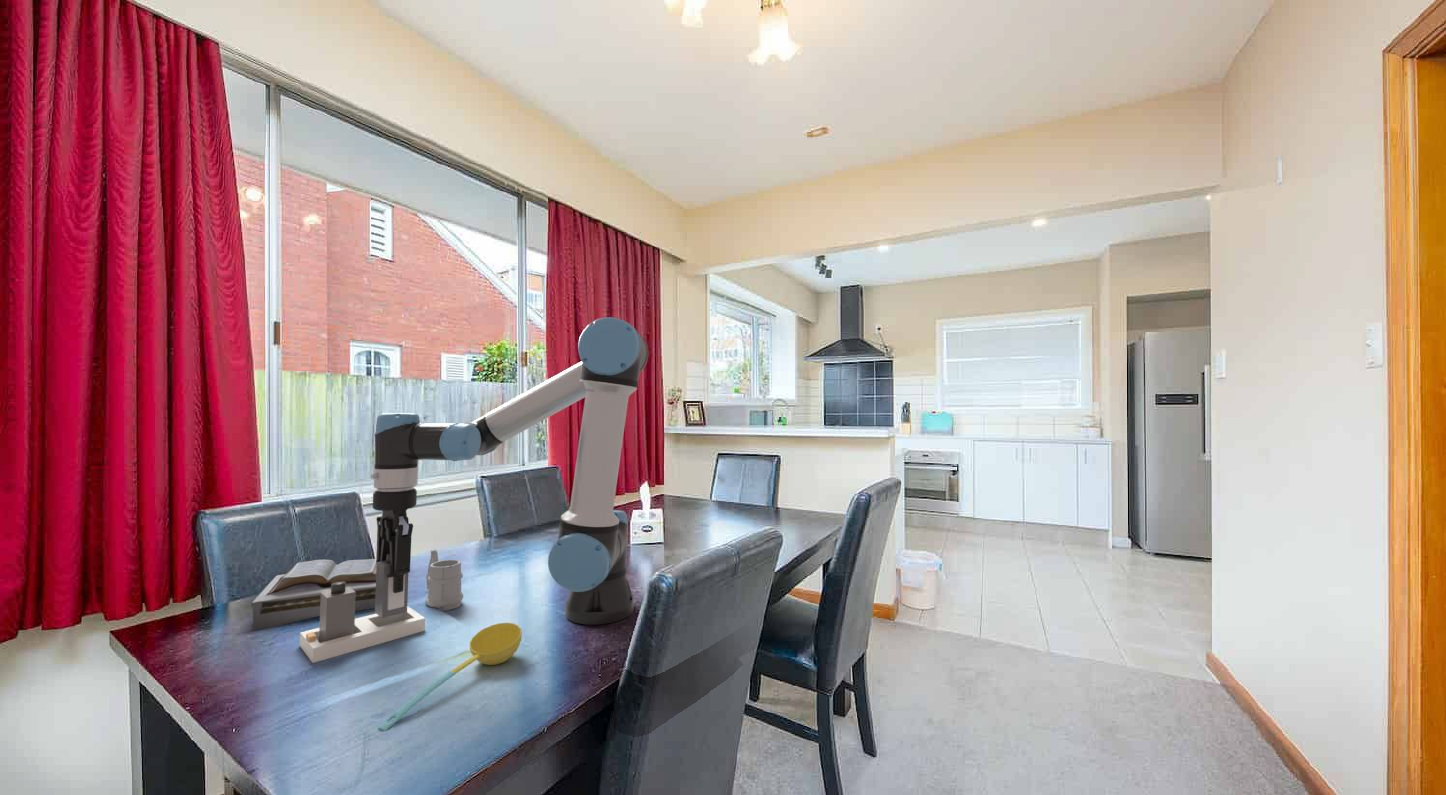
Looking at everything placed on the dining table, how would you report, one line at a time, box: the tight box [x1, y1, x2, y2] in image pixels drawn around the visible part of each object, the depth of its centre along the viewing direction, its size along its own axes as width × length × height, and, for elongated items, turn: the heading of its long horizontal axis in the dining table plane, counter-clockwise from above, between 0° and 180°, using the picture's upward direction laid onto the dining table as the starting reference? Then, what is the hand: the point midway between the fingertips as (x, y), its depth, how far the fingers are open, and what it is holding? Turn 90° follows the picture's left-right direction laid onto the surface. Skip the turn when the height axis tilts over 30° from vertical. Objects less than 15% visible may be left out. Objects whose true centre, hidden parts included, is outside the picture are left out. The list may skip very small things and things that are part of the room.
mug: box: [425, 549, 464, 612], centre depth 120 cm, size 8×12×12 cm, turn 54°
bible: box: [251, 558, 377, 632], centre depth 119 cm, size 23×27×10 cm
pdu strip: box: [299, 605, 426, 664], centre depth 100 cm, size 10×18×4 cm, turn 140°
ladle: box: [377, 622, 523, 732], centre depth 85 cm, size 9×26×6 cm, turn 161°
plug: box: [374, 553, 409, 618], centre depth 103 cm, size 4×4×12 cm
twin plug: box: [318, 582, 356, 643], centre depth 96 cm, size 4×4×12 cm
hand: (391, 604), depth 103 cm, fingers closed on plug, 4 cm apart
